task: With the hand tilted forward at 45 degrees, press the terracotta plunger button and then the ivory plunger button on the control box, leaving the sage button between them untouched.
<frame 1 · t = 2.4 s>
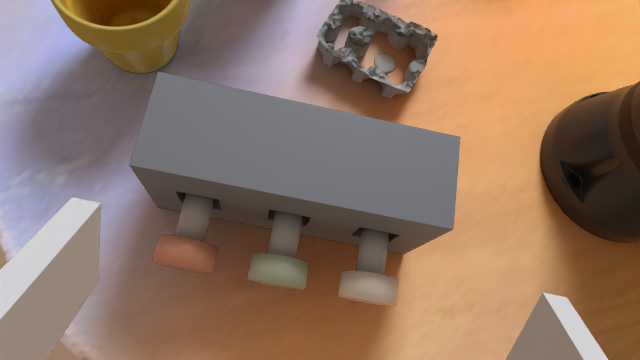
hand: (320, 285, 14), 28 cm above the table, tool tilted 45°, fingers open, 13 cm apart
control box: (290, 193, 44), on the table
ivory button: (371, 262, 38), point 5 cm above the table, slide at 0.0 cm
terracotta button: (192, 228, 37), point 5 cm above the table, slide at 0.0 cm
egg carton: (368, 59, 50), on the table
plant pot: (142, 45, 46), on the table
sage button: (283, 245, 37), point 5 cm above the table, slide at 0.0 cm
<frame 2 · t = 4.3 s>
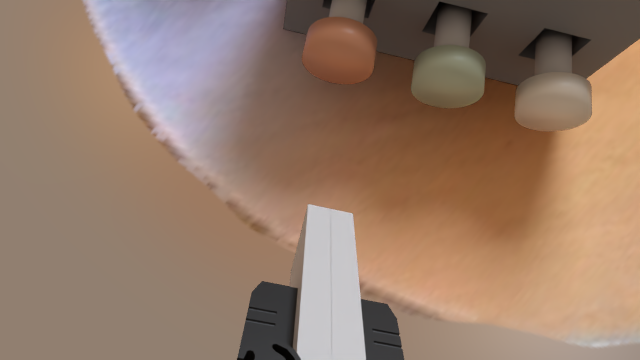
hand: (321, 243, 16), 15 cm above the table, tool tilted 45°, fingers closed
control box: (431, 24, 38), on the table
ivory button: (552, 76, 32), point 5 cm above the table, slide at 0.0 cm
terracotta button: (344, 25, 30), point 5 cm above the table, slide at 0.0 cm
sage button: (450, 51, 31), point 5 cm above the table, slide at 0.0 cm
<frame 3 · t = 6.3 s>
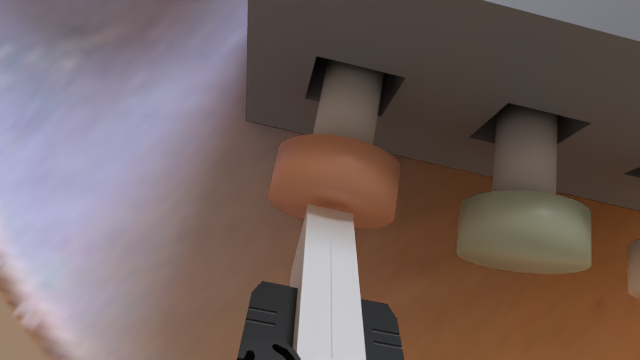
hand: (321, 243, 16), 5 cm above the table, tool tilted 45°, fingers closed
control box: (474, 108, 25), on the table
terracotta button: (343, 134, 18), point 5 cm above the table, slide at 0.3 cm, touching gripper
sage button: (523, 183, 18), point 5 cm above the table, slide at 0.0 cm
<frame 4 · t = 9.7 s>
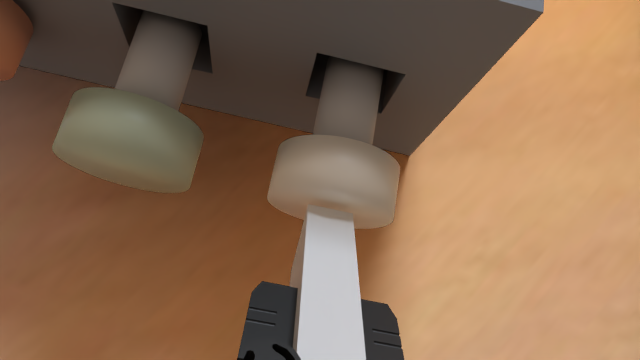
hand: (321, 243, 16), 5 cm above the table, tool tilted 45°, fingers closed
control box: (202, 40, 24), on the table
ivory button: (343, 134, 18), point 5 cm above the table, slide at 0.2 cm, touching gripper
sage button: (149, 93, 17), point 5 cm above the table, slide at 0.0 cm
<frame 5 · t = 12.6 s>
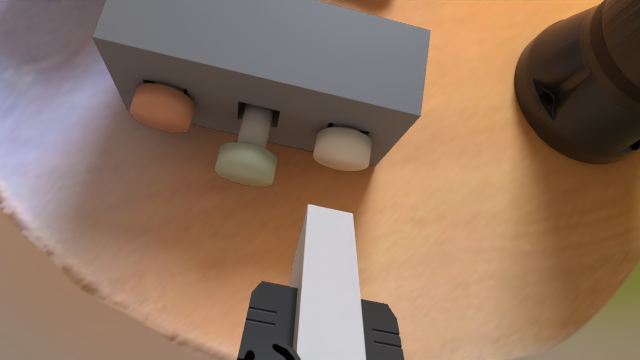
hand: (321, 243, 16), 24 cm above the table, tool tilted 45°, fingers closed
control box: (263, 103, 43), on the table
ivory button: (346, 127, 39), point 5 cm above the table, slide at 2.9 cm
terracotta button: (170, 85, 37), point 5 cm above the table, slide at 2.9 cm
sage button: (252, 140, 37), point 5 cm above the table, slide at 0.0 cm
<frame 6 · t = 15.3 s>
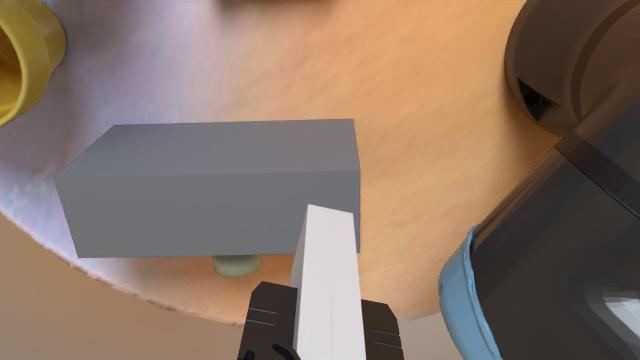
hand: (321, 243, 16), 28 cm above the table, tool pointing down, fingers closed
control box: (237, 157, 46), on the table
plant pot: (29, 35, 41), on the table
sage button: (234, 236, 44), point 5 cm above the table, slide at 0.0 cm
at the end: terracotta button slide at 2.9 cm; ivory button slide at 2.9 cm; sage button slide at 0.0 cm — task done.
